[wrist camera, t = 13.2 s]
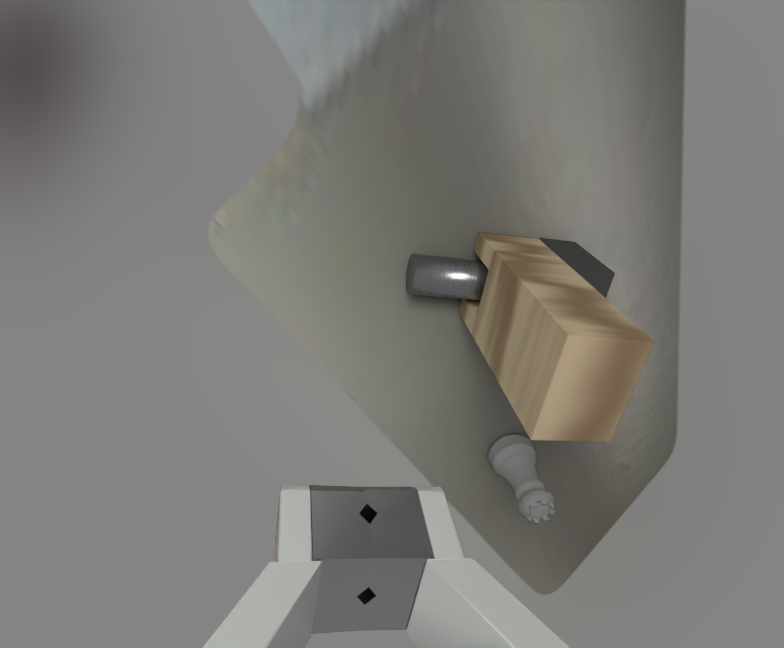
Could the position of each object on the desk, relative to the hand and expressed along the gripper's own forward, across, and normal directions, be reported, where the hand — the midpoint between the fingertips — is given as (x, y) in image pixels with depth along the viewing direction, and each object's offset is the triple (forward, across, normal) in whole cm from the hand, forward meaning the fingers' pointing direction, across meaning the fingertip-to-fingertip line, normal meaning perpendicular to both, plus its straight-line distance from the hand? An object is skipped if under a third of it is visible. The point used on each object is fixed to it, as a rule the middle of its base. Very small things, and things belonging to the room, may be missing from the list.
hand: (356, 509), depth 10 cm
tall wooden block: (+31, -15, +7) cm, 35 cm away
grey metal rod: (+31, -15, +7) cm, 35 cm away
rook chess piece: (+31, -21, +25) cm, 45 cm away
